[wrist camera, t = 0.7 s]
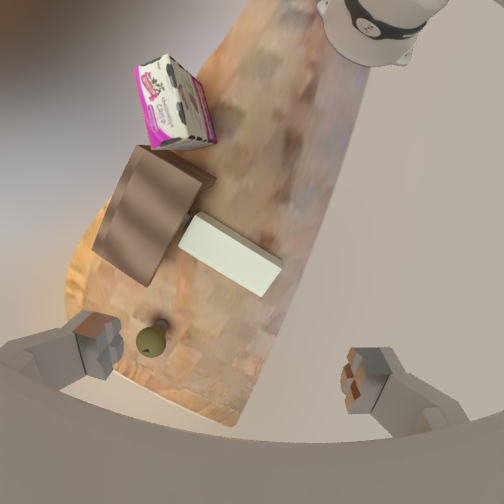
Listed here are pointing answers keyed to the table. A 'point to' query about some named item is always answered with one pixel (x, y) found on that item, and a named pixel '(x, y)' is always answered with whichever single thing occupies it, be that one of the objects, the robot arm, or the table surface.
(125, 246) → the walnut shelf
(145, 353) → the light bulb
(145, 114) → the candy bar box
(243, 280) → the mint green beam
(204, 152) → the table surface
